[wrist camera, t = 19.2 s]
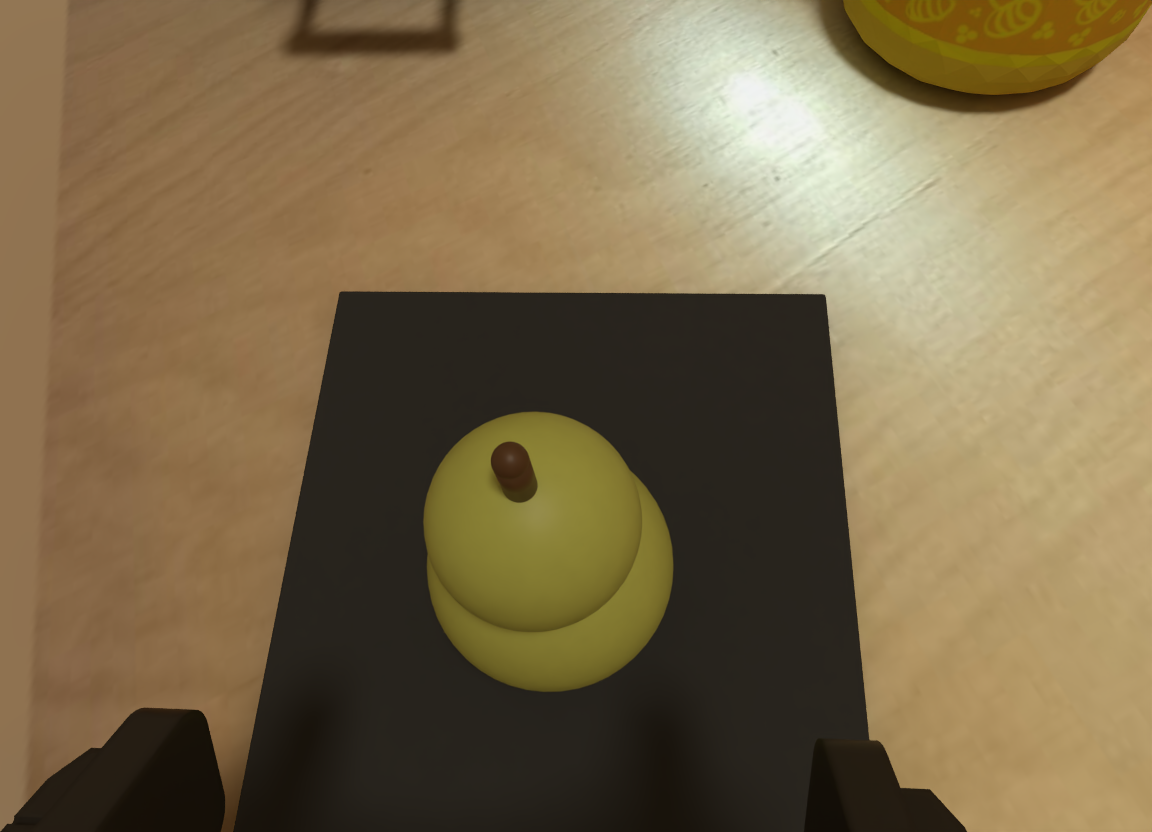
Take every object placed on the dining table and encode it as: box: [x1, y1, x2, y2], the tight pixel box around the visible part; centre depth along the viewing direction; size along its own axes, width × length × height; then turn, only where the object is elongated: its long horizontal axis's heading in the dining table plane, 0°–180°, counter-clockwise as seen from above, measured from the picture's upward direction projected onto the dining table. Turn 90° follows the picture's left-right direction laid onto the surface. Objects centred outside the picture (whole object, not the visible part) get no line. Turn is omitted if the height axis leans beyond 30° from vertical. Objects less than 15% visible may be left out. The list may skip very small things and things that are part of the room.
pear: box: [423, 412, 673, 692], centre depth 16 cm, size 6×6×11 cm
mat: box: [233, 292, 869, 832], centre depth 22 cm, size 16×20×1 cm
